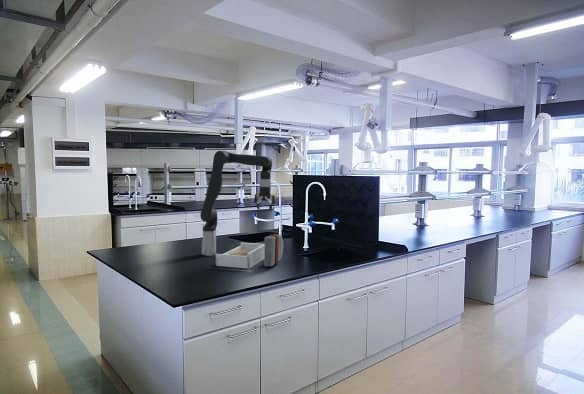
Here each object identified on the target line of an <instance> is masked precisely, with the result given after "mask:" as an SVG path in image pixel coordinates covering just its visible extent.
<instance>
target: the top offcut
mask: <svg viewBox="0 0 584 394" xmlns="http://www.w3.org/2000/svg"><path fill="white" fill-rule="evenodd" d="M249 252H251V251H246V250H243V251H239V252H236V253H232V254H229V255H238V256H246V255H247V253H249Z"/></svg>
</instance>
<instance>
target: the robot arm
mask: <svg viewBox="0 0 584 394" xmlns="http://www.w3.org/2000/svg"><path fill="white" fill-rule="evenodd" d="M212 160H213V161H212V167H211V173H210V177H209V181H208V185H207V189H206V195H205V198H204V202H203V205H202V208H201V210H200V215H199V216H200V220H201V221H202V222H203V223H205V224H204V225H203V226H202V241H201V255H202V256H209V257H210V256H216V254H217V227H218V212H217V210H216V208H213V206H214V203H215V202H216V201H217V198H218V197H219V196H220V194H221V191H222V187H223V168H224V166H225V164H240V165H244V166H245V165H247V166H253V167H254V166H256V167H261V171H260V173H259V175H260V176H259V190H258V191H259V193H255V194H254V201H253V202H254V204H256V208H257V210H260V207H261V204H260V203H261V202H267V203H268V204H269V208H268V210H269V211H272V209H273V205H275V204H276V195H275V194H272V195H271V190H272V189H271V187H272V185H271V184H272V182H271V178H272V177H271V176H272V174H271V172H272V168H273V167H272V166H273V160H272V158H271V157H270V156H266V155H255V154H254V155H252V154H238V153H233V152H229V151H226V150H218V151H216V152H215V153H214V154H213V159H212ZM258 197H259V198H258Z"/></svg>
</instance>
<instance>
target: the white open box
mask: <svg viewBox="0 0 584 394" xmlns="http://www.w3.org/2000/svg"><path fill="white" fill-rule="evenodd" d="M264 247H265V243H256V242H255V243H254V242H252V243H251V242H240V245H239V246H237V247H235V248H233V249H230V250H228V251H227V252H225V253H222V254H221V253H216V255H215V266H217V267H227V268H237V269H240V268H241V269H251V268H252V267H254V266H255V265H257V264H258V263H260V262H261V261H264ZM243 250H246V251H251V252H249V253H247V256H238V255H229V254H232V253H236V252H239V251H243Z"/></svg>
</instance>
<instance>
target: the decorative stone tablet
mask: <svg viewBox="0 0 584 394" xmlns="http://www.w3.org/2000/svg"><path fill="white" fill-rule="evenodd" d="M264 244H265V247H264V259H263V266H264V267H275V266H276V265H277V264H279V262H280V261H281V259H282V257H283V253H284V240H283V236H282V235H281V234H269V235H268V236H265V237H264Z"/></svg>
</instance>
